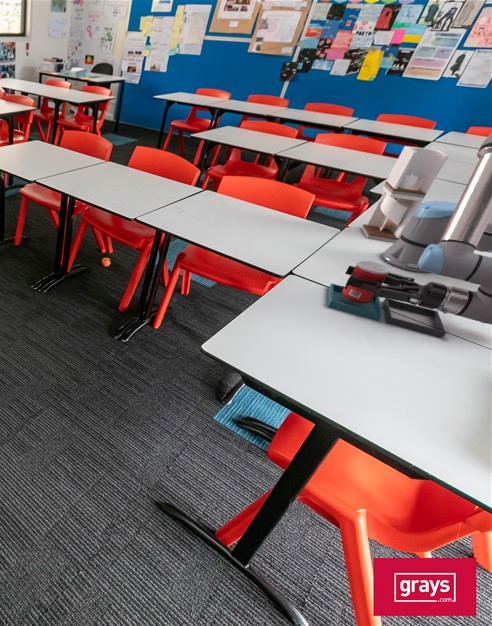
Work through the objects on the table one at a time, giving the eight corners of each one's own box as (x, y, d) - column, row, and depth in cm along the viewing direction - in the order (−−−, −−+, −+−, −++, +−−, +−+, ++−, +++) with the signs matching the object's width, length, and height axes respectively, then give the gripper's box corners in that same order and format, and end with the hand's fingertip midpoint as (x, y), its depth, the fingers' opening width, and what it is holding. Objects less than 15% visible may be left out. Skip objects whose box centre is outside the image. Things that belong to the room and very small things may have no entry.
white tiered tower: (361, 228, 187) (404, 146, 167) (389, 233, 183) (437, 149, 163) (367, 237, 178) (414, 152, 158) (397, 242, 175) (448, 156, 155)
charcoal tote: (382, 303, 134) (385, 297, 133) (433, 316, 129) (437, 311, 128) (385, 323, 125) (389, 317, 124) (441, 338, 119) (446, 332, 118)
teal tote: (328, 289, 140) (331, 283, 139) (375, 301, 135) (379, 295, 134) (327, 307, 131) (331, 300, 130) (378, 321, 125) (382, 314, 124)
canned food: (375, 305, 128) (395, 274, 122) (347, 302, 129) (365, 270, 123) (364, 292, 134) (382, 262, 128) (337, 289, 135) (353, 259, 129)
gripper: (439, 325, 115) (342, 299, 125) (427, 293, 130) (341, 272, 139) (456, 302, 111) (355, 277, 120) (441, 272, 126) (352, 252, 135)
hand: (347, 275), depth 130 cm, fingers closed on canned food, 8 cm apart
